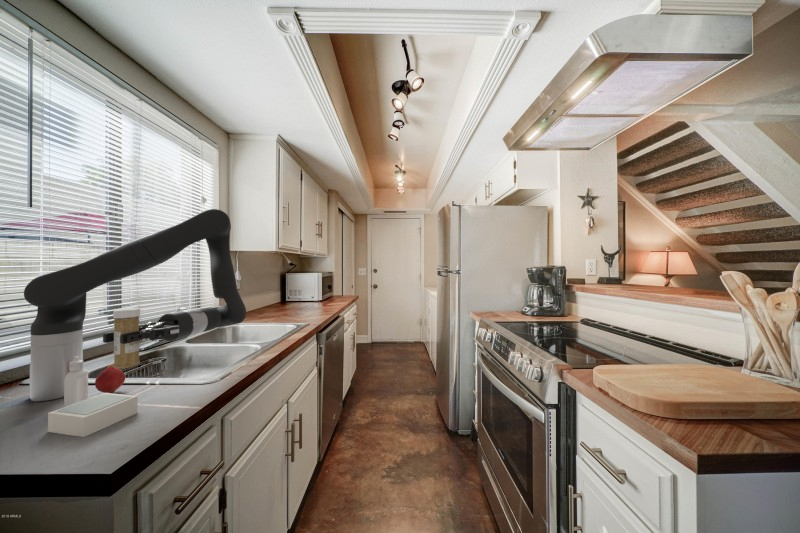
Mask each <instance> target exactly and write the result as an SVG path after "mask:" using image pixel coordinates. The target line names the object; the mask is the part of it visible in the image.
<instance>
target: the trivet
mask: <svg viewBox="0 0 800 533" xmlns="http://www.w3.org/2000/svg"><path fill="white" fill-rule="evenodd" d="M138 398H139V397H138V395H130V394H120V393H103V392H102V393H101V394H97V395H95V396H91V397H88V399H86V400H83V401H80V402H78V403H75V404H72V405H69V406H66V407H64V406H63V407H61V408H58V409H56V410H53V411H49V412H48V413H47V432H48V433H53V434H59V435H67V436H75V437H79V438H80V437H82V438H86V437H87V436H89V435H92V434H93V433H94V434H95V433H96V432H98V431H99V432H100V431H101V430H103V429H105V428H107V427H110V426H112V425H113V424H114V425H115V424H116V423H118V422H120V421H123V420H125V419H128V418H129V417H132V416H134V415H136V414H138V412H139V411H138V410H139V408H138V407H139V404H138V403H139V399H138Z"/></svg>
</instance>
